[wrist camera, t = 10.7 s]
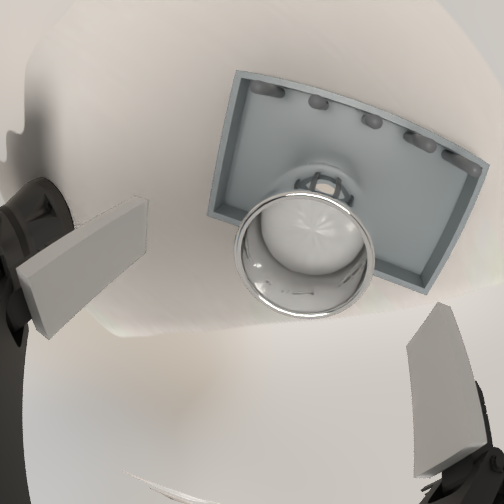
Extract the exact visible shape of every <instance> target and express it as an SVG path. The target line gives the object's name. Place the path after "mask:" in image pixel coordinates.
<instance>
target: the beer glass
mask: <svg viewBox="0 0 504 504" xmlns="http://www.w3.org/2000/svg"><path fill="white" fill-rule="evenodd" d="M234 258H235V264H236V267H237V270H238V273H239V275H240V278H241V279H242V281H243V283H244V284H245V286H246V287H247V289H248V290H249V291H250V292H251V294H252V295H253V296H254V297H255V298H257V299H258V300H259V301H260V302H261V303H263V304H264V305H265V306H267V307H269V308H270V309H272V310H274V311H276V312H278V313H281V314H284V315H287V316H290V317H295V318H301V319H318V318H325V317H329V316H332V315H335V314H338V313H340V312H342V311H344V310H346V309H347V308H349V307H350V306H352V305H353V304H354V303H355V302H356V301H357V300H358V299H359V298H360V297H361V296H362V295H363V294H364V292H365V291H366V289H367V288H368V286H369V284H370V281H371V279H372V276H373V272H374V266H375V253H374V226H373V219H372V214H371V210H370V207H369V204H368V201H367V199H366V197H365V195H364V193H363V191H362V190H361V189H360V187H359V186H358V177H357V174H356V172H355V169H354V168H353V166H352V165H351V164H350V162H349V161H348V160H347V159H345V158H344V157H342V156H341V155H339V154H337V153H334V152H329V151H319V152H314V153H311V154H309V155H307V156H306V157H305V158H303V159H302V160H301V161H300V162H299V164H298V165H297V167H295V168H293V169H290V170H288V171H286V172H285V173H283V174H282V175H280V176H279V177H278V178H277V179H275V180H274V181H273V182H272V183H271V184H270V185H269V186H268V187H267V188H266V189H265V190H264V191H263V193H262V194H261V195H260V196H259V198H258V199H257V201H256V202H255V204H254V205H253V207H252V208H251V210H250V212H249V213H248V214H247V215H246V216H245V218H244V219H243V221H242V222H241V224H240V226H239V228H238V231H237V234H236V238H235V243H234Z"/></svg>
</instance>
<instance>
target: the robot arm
mask: <svg viewBox="0 0 504 504" xmlns="http://www.w3.org/2000/svg"><path fill="white" fill-rule="evenodd" d="M147 215H148V200H147V199H144V198H141V197H138V196H133V197H131V198H130V199H128V200H126V201H124V202H122V203H120V204H118V205H117V206H115V207H113V208H111V209H109V210H108V211H106V212H104V213H102V214H100V215H99V216H97V217H95V218H93V219H92V220H90V221H88V222H87V223H85V224H83V225H82V226H80V227H78V228H77V229H75V230H73V224H72V219H71V216H70V213H69V210H68V207H67V205H66V203H65V201H64V199H63V197H62V195H61V193H60V192H59V190H58V189H57V188H56V187H55V186H54V184H52V183H51V182H50V181H49V180H47V179H45V178H37V179H35V180H33V181H30V182H28V183H27V184H25V185H24V186H23V187H22V188H21V189H20V190H19V191H18V192H17V193H16V194H15V195H14V196H13V197H12V198H11V199H10V200H9V201H8V202H7V203H6V204H5V205H3V206H1V207H0V504H31V501H30V496H29V490H28V485H27V477H26V469H25V461H24V448H23V431H22V430H23V429H22V397H23V377H24V365H25V354H26V346H27V338H28V332H29V328H28V324H27V322H28V321H30V320H31V319H32V320H33V323H34V325H35V327H36V330H37V331H38V332H40V333H41V334H42V335H43V336H45V337H46V338H47V339H48V340H50V339H51V338H52V337H53V336H54V335H55V334H56V333H57V332H58V331H59V330H60V329H61V328H62V327H63V326H64V325H65V324H66V323H67V322H68V321H69V320H70V319H71V318H73V316H75V314H77V313H78V312H79V311H80V310H81V309H82V308H83V307H84V306H85V305H86V304H88V303H89V302H90V301H91V300H92V299H93V298H94V297H95V296H96V295H97V294H99V293H100V292H101V291H102V290H103V289H104V288H105V287H106V286H108V285H109V284H110V283H111V282H112V281H113V280H114V279H116V278H117V277H118V276H119V275H120V274H121V273H122V272H124V271H125V270H126V269H127V268H128V267H129V266H131V265H132V264H133V263H134V262H135V261H136V260H138V259H139V258H140V257H141V256H142V255H144V254H145V253H146V235H147ZM406 348H407V355H408V363H409V372H410V381H411V392H412V405H413V423H414V478H431V477H433V476H434V475H437V474H438V473H440V472H442V478H441V479H439V480H437V481H435V482H434V483H431V484H430V485H427V486H425V487H424V488H423V489H422V490H421V491H422V492H423V491H425V490H427V489H430V488H431V489H430V491H429V492H428V493H426V494H425V495H426V496H425V497H424V498H423V500H422V501H421V502H420V504H504V453H503V452H502V450H500V449H499V448H496V447H493V444H492V437H491V431H490V426H489V421H488V416H487V414H486V412H487V411H486V406H485V405H484V404H485V402H484V397H483V393H482V391H481V389H480V387H479V385H478V383H477V381H475V380H474V376H473V372H472V369H471V365H470V362H469V358H468V355H467V352H466V349H465V346H464V343H463V340H462V337H461V334H460V331H459V328H458V325H457V323H456V320H455V317H454V315H453V312H452V310H451V307H450V306H447V305H445V304H442V303H439V302H437V304H436V306H435V307H434V308H433V310H432V311H431V313H430V314H429V316H428V317H427V319H426V320H425V321H424V323H423V324H422V325H421V327H420V328H419V330H418V331H417V332H416V334H415V335H414V336H413V338H412V339H411V341H410V342H409V343H408V344H407V346H406Z"/></svg>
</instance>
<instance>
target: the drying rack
mask: <svg viewBox="0 0 504 504" xmlns="http://www.w3.org/2000/svg"><path fill="white" fill-rule="evenodd" d="M319 151H329V152H334V153H337V154H339V155H341V156H342V157H344V158H345V159H347V160H348V161H349V162H350V164H351V165H352V166H353V168H354V169H355V172H356V174H357V177H358V186H359V187H360V189H361V190H362V191H363V193H364V195H365V197H366V199H367V201H368V204H369V207H370V210H371V214H372V219H373V226H374V253H375V266H374V272H373V275H374V276H377V277H380V278H382V279H385V280H388V281H390V282H393V283H395V284H398V285H401V286H403V287H406V288H409V289H411V290H414V291H416V292H419V293H422V294H424V295H427V294H428V292H429V290H430V289H431V287H432V285H433V284H434V282H435V280H436V279H437V277H438V275H439V274H440V272H441V270H442V268H443V267H444V265H445V263H446V261H447V259H448V258H449V256H450V254H451V252H452V250H453V248H454V246H455V244H456V242H457V240H458V238H459V236H460V234H461V232H462V230H463V228H464V226H465V224H466V222H467V220H468V218H469V215H470V213H471V211H472V209H473V207H474V204H475V202H476V200H477V197H478V195H479V192H480V190H481V187H482V185H483V182H484V180H485V177H486V174H487V172H488V169H489V166H490V165H489V164H488V163H486V162H485V161H483V160H481V159H480V158H478V157H476V156H475V155H473V154H471V153H470V152H468V151H466V150H465V149H463V148H461V147H459V146H457V145H456V144H454V143H452V142H450V141H448V140H446V139H444V138H443V137H441V136H439V135H437V134H435V133H433V132H431V131H429V130H427V129H424V128H422V127H420V126H418V125H416V124H414V123H412V122H409V121H407V120H405V119H403V118H400V117H398V116H396V115H393V114H391V113H388V112H386V111H383V110H381V109H378V108H376V107H373V106H370V105H368V104H365V103H362V102H359V101H357V100H354V99H351V98H348V97H345V96H342V95H339V94H336V93H332V92H329V91H326V90H322V89H319V88H315V87H312V86H308V85H304V84H301V83H297V82H293V81H289V80H284V79H280V78H276V77H271V76H266V75H261V74H256V73H251V72H245V71H239V70H236V73H235V77H234V81H233V85H232V90H231V94H230V99H229V103H228V108H227V112H226V117H225V122H224V126H223V131H222V136H221V141H220V146H219V151H218V156H217V161H216V167H215V172H214V177H213V183H212V188H211V194H210V200H209V206H208V212H207V216H209V217H212V218H215V219H218V220H221V221H224V222H227V223H230V224H233V225H236V226H238V227H239V226H240V224H241V222H242V221H243V219H244V218H245V216H246V215H247V214H248V213H249V212H250V210H251V208H252V207H253V205H254V204H255V202H256V201H257V199H258V198H259V196H260V195H261V194H262V193H263V191H264V190H265V189H266V188H267V187H268V186H269V185H270V184H271V183H272V182H273V181H274V180H275V179H277V178H278V177H279V176H280V175H282V174H283V173H285V172H286V171H288V170H290V169H293V168H295V167H297V165H298V164H299V162H300V161H301V160H302V159H303V158H305V157H306V156H307V155H309V154H311V153H314V152H319Z"/></svg>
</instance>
